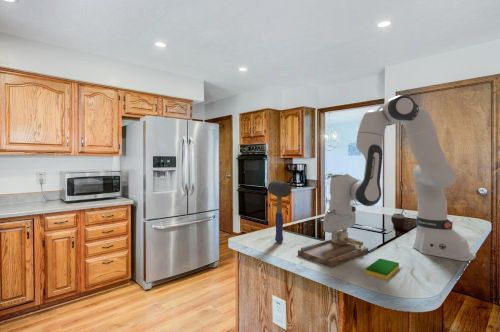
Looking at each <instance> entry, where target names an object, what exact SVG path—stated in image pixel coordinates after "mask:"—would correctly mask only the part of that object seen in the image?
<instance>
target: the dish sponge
mask: <svg viewBox="0 0 500 332" xmlns="http://www.w3.org/2000/svg"><path fill="white" fill-rule="evenodd" d="M365 268H366V270H365V273H366V275H368V276H373V277H374V278H375V277H376V278H379V279H382V280H389V278H390V277H392V276H393V275H394V274H395V273H396V272H397V271H398V270H399V269H400V262H396V261H392V260H387V259H384V258H378V259H377V260H375V261H374V262H372V264H370V265H369V266H367V267H365Z"/></svg>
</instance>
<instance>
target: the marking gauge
mask: <svg viewBox="0 0 500 332" xmlns="http://www.w3.org/2000/svg"><path fill="white" fill-rule="evenodd" d="M337 236H339V240H334V237H333V234H332V232H331V236H330V237H331V238H330V239H331V242H333V243H337V244H340V245H345V244H348V243H351V244H355V245H359V248H361V246H362V247H364V241H362V240H357V239H354V238H349V232H348V231H347V232H344V231H342V230H339V231H338V233H337Z"/></svg>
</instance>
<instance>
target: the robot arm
mask: <svg viewBox="0 0 500 332" xmlns="http://www.w3.org/2000/svg"><path fill="white" fill-rule="evenodd" d="M396 124H401V125H402V126H403V127H404V129H405V133H406V136H407V140H408V143H409V148H410V151H411V152H410V153H412V155H413V157H414V158H415V160H416V161H417V165H416V166H415V167H414V168H413V171H412V176H413V178H414V185H415V190H416V198H417V216H416V219H415V228H416V232H415V238H414V242H413V245H412V247H413V248H414V249H415V250H417V251H418V252H420V253H421V254H425V255H428V256H429V255H430V256H435V257H439V258H445V259H448V260H449V259H451V260H456V261H460V262H470V261H473V260H475V259H476V258H477V254H476V252H474V251H472V250H470V245H469V243H468V240H467V239H466V238H465V237H464V236H462V235H461V234H460V233H459V232H457V231H456V230H454V229H453V224H454V221H451V220H449V219H448V200H447V197H446V196H445V195H446V194H445V192H444V188H448V187H451V186H452V185H453V184H454V183H455V182H456V180H457V172H456V170H455V169H454V168H453V167H452V166H451V164H450V162H449V160H448V158H447V156H446V155H445V153H444V151H443V148H442V147H441V144H440V140H439V136H438V133H437V130H436V126H435V124H434V121H433V118H432V116H431V115H430V113H429V111H428V110H427V109H426V108H424V107H419V105H418V104H417V103H416V101H415V100H414V99H413V98H412V97H411V96H408V95H406V94H401V95H396V96H394V97H393V98H390V99H388V100H387V101H385V103H384V104H382V105H381V106H380V107H379V108H378V109H377V110H375V109H374V110H373V109H371V110H369V111H366V112H365V113H364V114H363V116H362V118H361V120H360V123H359V127H358V131H357V135H356V143H355V144H356V148H357V150H358V151H359V152H360V154H362V155H363V157H364V159H365V164H364V166H365V167H364V174H363V179H362V180H360V179H358V178H355V177H354V176H352V175H350V174H349V173H347V172H341V173H340V172H339V173H335V174H333V175H332V176H331V177H330V180H329V181H330V183H329V195H330V199H329V210H327V211H326V213H325V214H324V217H323V225H322V226H323V227H322V229H323V231H324V232H326V233H329V234H330V233H331V232H332V234H333V237H334V240H339V236H337V233H338V231H344V232H348V229H349V228H352V227H355V226H356V221H357V220H356V219H357V218H356V216H357V215H356V212H357V207H356V206H354V205H351V201H355V202H357V203H360V204H361V205H363V206H365V207H372V206H374V205H377V204H378V203H379V201H380V200H381V198H382V187H381V181H380V180H381V173H382V164H383V144H384V143H383V142H384V136H385V133H386V132H385V130H386V128H387V126H392V125H396Z"/></svg>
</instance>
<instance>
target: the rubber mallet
mask: <svg viewBox="0 0 500 332" xmlns="http://www.w3.org/2000/svg"><path fill="white" fill-rule="evenodd" d="M267 190H268V192H269V194H271V195H272V196H275V197H276V213H275V218H274V219H275V221H274V222H275V225H274V226H275V237H274V239H275V242H276V244H282V243H283V242H284V236H283V235H284V234H283V233H284V231H283V227H284V218H283V217H284V216H283V201H282V200H283V198H288V196H290V194H291V192H292V187H291V185H290V184H289V183H287V182H284V181H281V180H272V181H270V182H269V183H268V185H267Z"/></svg>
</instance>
